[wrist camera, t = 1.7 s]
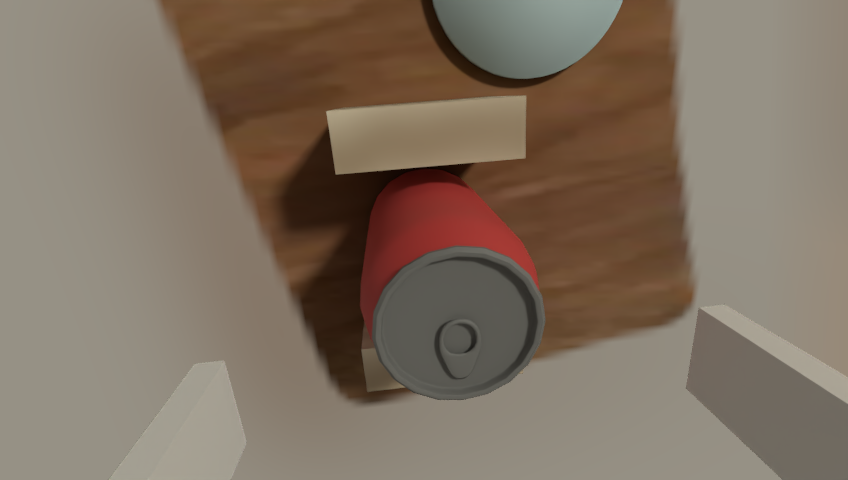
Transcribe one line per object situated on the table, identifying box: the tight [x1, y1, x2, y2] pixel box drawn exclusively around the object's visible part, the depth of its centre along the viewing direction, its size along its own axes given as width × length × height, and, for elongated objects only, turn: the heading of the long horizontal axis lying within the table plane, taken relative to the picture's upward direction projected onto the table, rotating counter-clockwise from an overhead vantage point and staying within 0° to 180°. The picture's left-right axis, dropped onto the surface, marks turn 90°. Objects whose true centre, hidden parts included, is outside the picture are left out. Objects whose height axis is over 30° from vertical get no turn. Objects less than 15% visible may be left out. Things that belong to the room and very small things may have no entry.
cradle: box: [326, 96, 526, 392], centre depth 21 cm, size 14×8×6 cm, turn 4°
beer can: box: [360, 168, 545, 400], centre depth 18 cm, size 7×7×12 cm
